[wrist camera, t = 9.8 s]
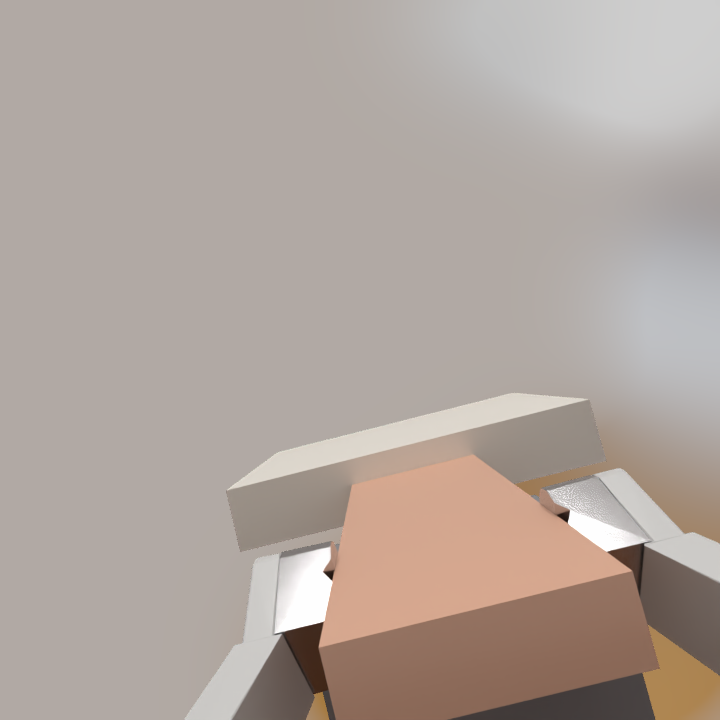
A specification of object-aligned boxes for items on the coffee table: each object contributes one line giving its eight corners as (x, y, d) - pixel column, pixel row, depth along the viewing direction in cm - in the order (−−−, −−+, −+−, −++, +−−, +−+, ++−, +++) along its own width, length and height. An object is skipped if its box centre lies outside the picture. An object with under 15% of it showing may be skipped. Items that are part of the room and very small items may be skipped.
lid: (984, 589, 6) (933, 428, 6) (31, 819, 6) (-2, 659, 6) (523, 432, 22) (512, 392, 23) (287, 491, 23) (277, 452, 23)
